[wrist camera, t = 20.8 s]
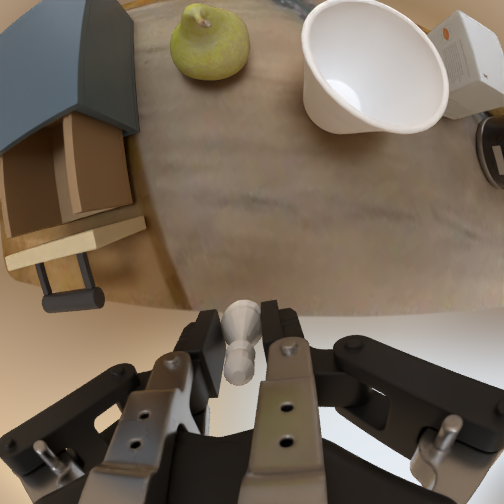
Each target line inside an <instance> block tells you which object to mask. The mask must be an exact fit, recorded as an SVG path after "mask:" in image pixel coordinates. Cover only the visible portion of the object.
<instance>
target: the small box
mask: <svg viewBox="0 0 504 504" xmlns="http://www.w3.org/2000/svg"><path fill="white" fill-rule="evenodd" d="M426 35H427V37H428V38H429V39H430V41H431V42H432V43H433V45H434V46H435V48H436V50H437V51H438V53H439V55H440V57H441V59H442V61H443V64H444V66H445V69H446V73H447V77H448V82H449V98H448V103H447V107H446V109H445V111H444V113H443V116H445V117H447V118H450V119H453V120H456V119H460V118H463V117H467V116H470V115H474V114H477V113H481V112H484V111H488V110H492V109H496V108H500V107H503V106H504V55H503V52H502V49H501V46H500V43H499V40H498V38H497V35H496V34H494V33H493V32H492V31H490V30H489V29H488V28H486V27H485V26H483V25H482V24H480V23H479V22H477V21H476V20H474V19H473V18H471V17H470V16H468V15H466V14H464V13H463V12H461V11H459V10H457V11H456V12H454V13H453V14H452V15H451V16H449V17H448V18H447V19H445V20H444V21H443V22H442V23H440V24H439V25H438V26H436V27H435V28H434V29H433V30H431V31H430V32H429V33H428V34H426Z"/></svg>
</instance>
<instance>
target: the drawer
mask: <svg viewBox="0 0 504 504" xmlns="http://www.w3.org/2000/svg"><path fill="white" fill-rule="evenodd" d="M0 197H1V206H2V213H3V219H4V226H5V231H6V236H7V239H10V238H13V237H17V236H20V235H24V234H28V233H31V232H35V231H39V230H43V229H46V228H50V227H54V226H58V225H62V224H65V223H68V222H72V221H75V220H78V219H81V218H84V217H88V216H91V215H94V214H98V213H101V212H104V211H108V210H111V209H115V208H119V207H122V206H126V205H130V204H133V201H132V196H131V190H130V184H129V178H128V172H127V165H126V158H125V150H124V142H123V133H122V129H120V128H118V127H115V126H113V125H110V124H108V123H106V122H103V121H101V120H98V119H96V118H93V117H91V116H88V115H86V114H83V113H80V112H78V111H75V110H74V111H72V112H70V113H69V114H67V115H65V116H63V117H61V118H59V119H57V120H55V121H54V122H52V123H50V124H48V125H47V126H45V127H43V128H42V129H40V130H38V131H37V132H35V133H33V134H32V135H30V136H29V137H27V138H26V139H24V140H22V141H21V142H19V143H18V144H17V145H15V146H14V147H12V148H11V149H9V150H8V151H7V152H5V153H4V154H2V155H1V156H0ZM144 229H146V224H145V220H144V216H141V217H137V218H133V219H129V220H125V221H121V222H117V223H113V224H109V225H105V226H101V227H98V228H94V229H90V230H87V231H83V232H80V233H76V234H73V235H69V236H66V237H62V238H59V239H56V240H53V241H50V242H47V243H44V244H41V245H38V246H35V247H32V248H29V249H26V250H23V251H20V252H18V253H15V254H12V255H9V256H7V257H5V259H6V263H7V267H8V271H11V270H15V269H19V268H23V267H26V266H30V265H34V264H35V266H36V270H37V274H38V277H39V280H40V284H41V287H42V290H43V293H44V296H43V299H42V306H43V309H44V310H45V311H46V312H47V313H57V312H68V311H80V310H90V309H100V308H102V307H103V306H104V303H105V296H104V293H103V291H102V289H101V288H100V287H95V282H94V279H93V276H92V272H91V268H90V265H89V261H88V257H87V253H86V252H87V251H91V250H95V249H98V248H101V247H103V246H105V245H108V244H110V243H112V242H115V241H117V240H120V239H122V238H124V237H127V236H129V235H132V234H134V233H137V232H139V231H142V230H144ZM74 254H76V255H77V259H78V263H79V266H80V270H81V273H82V277H83V280H84V284H85V287H86V288H84V289H78V290H71V291H64V292H58V293H52V290H51V287H50V284H49V281H48V277H47V274H46V270H45V267H44V263H43V262H46V261H50V260H54V259H58V258H62V257H66V256H70V255H74Z"/></svg>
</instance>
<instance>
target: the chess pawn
mask: <svg viewBox="0 0 504 504" xmlns="http://www.w3.org/2000/svg"><path fill="white" fill-rule="evenodd" d="M221 331H222V335H223V337H224V340H225V341H226V343H227V344H228V345H229V347H228V348H227V350H226V353H225V355H226V361H225V364H224V376H225V378H226V380H227V381H228V382H229V383H230V384H233V385H236V386H237V385H238V386H239V385H244V384H247V383H248V382H249V381H250V380H251V379H252V377H253V375H254V359H255V350H254V346H255V345H256V344H257V343H258V341H259V340H260V339H261V337H262V318H261V308H260V307H259V306H258V305H257V304H256V303H254V302H252V301H250V300H238V301H236V302H235V303H233V304H231V305H230V306H229V307H228V308H227V309H226V311H225V312H224V314H223V317H222V320H221Z"/></svg>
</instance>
